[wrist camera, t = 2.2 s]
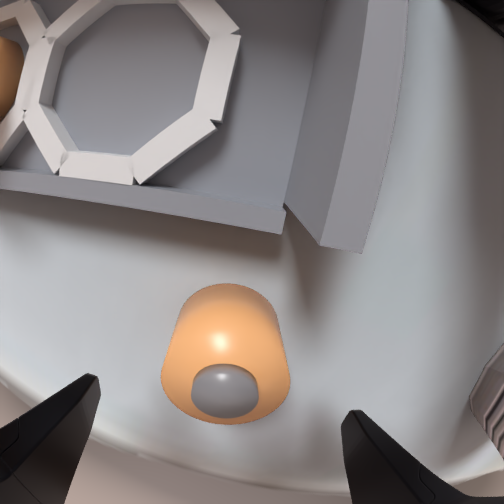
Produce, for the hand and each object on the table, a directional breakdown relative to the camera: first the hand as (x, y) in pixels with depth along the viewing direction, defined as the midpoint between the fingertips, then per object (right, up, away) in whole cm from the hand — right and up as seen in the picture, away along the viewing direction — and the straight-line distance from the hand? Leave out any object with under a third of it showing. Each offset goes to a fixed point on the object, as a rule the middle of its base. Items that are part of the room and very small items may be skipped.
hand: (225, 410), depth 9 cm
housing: (-6, +21, -2) cm, 22 cm away
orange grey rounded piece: (0, +2, +5) cm, 5 cm away
